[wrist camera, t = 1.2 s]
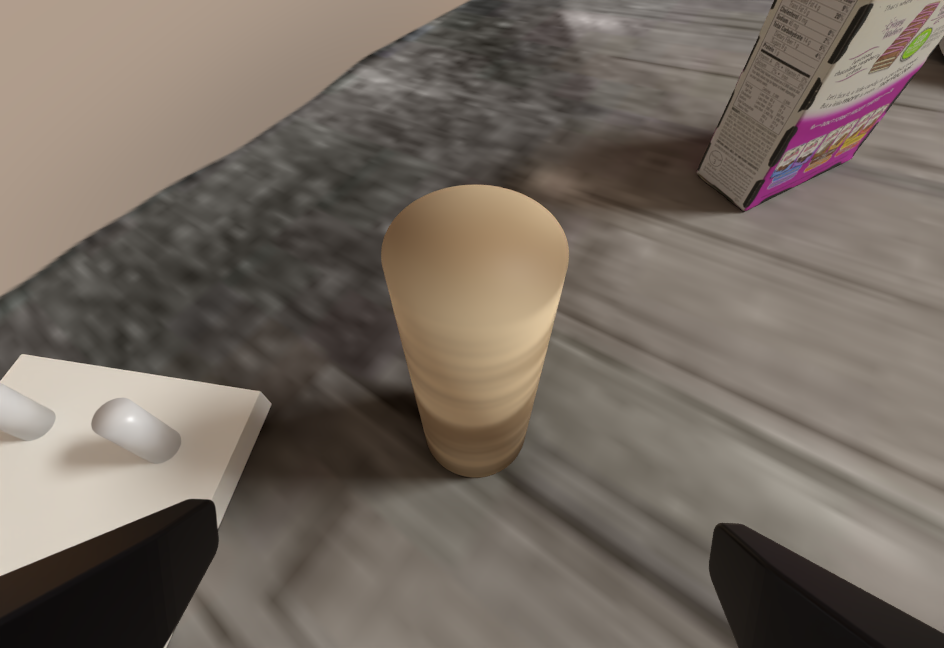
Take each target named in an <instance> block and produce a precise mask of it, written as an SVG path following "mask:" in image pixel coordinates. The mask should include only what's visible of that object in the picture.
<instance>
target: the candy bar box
mask: <svg viewBox="0 0 944 648" xmlns="http://www.w3.org/2000/svg"><path fill="white" fill-rule="evenodd" d="M943 37H944V0H774V2H773V4H772V7H771V9H770V11H769V14H768V16H767V18H766V20H765V22H764V25H763V27H762V29H761V31H760V34H759V36H758V39H757V41H756V43H755V45H754V48H753V50H752V52H751V54H750V56H749V58H748V61H747V63H746V65H745V67H744V69H743V71H742V73H741V75H740V77H739V80H738V82H737V84H736V87H735V89H734V91H733V93H732V96H731V98H730V100H729V102H728V104H727V106H726V108H725V111H724V113H723V115H722V117H721V119H720V121H719V124H718V126H717V128H716V130H715V132H714V135H713V137H712V139H711V141H710V144H709V146H708V148H707V150H706V152H705V154H704V157H703V159H702V161H701V163H700V165H699V168H698V170H697V174H698V175H699V176H700V177H701V178H702V179H703V180H704V181H705V182H706V183H707V184H709V185H710V186H712V187H713V188H715V189H716V190H717V191H718V192H720V193H721V194H723V195H724V196H725V197H726V198H728V199H729V200H730V201H731V202H732V203H734V204H735V205H736V206H738V207H739V208H740V209H741V210H743V211H746V210H749V209H751V208H753V207H755V206H757V205H759V204H761V203H763V202H765V201H767V200H769V199H771V198H773V197H775V196H777V195H779V194H781V193H783V192H785V191H787V190H789V189H791V188H793V187H795V186H797V185H799V184H801V183H803V182H805V181H807V180H809V179H811V178H813V177H815V176H817V175H819V174H821V173H823V172H825V171H828V170H830V169H832V168H834V167H836V166H838V165H840V164H842V163H844V162H846V161H848V160H850V159H852V157H853V156H854V154H855V153H856V151H857V150H858V149H859V147H860V146H861V145H862V143H863V142H864V141H865V140H866V138H867V137H868V136H869V134H870V133H871V132H872V130H873V129H874V128H875V126H876V125H877V124H878V122H879V121H880V120H881V119H882V118H883V116H884V115H885V114H886V112H887V111H888V110H889V108H890V107H891V106H892V104H893V103H894V102H895V100H896V99H897V98H898V96H899V95H900V94H901V92H902V91H903V90H904V89H905V87H906V86H907V84H908V83H909V82H910V81H911V79H912V78H913V77H914V75H915V74H916V73H917V71H918V70H919V69H920V68H921V67H922V65H923V64H924V63H925V61H926V60H927V59H928V57H929V56H930V55H931V53H932V52H933V51H934V49H935V48H936V47H937V45H938V44H939V43H940V41H941V40H942V38H943Z"/></svg>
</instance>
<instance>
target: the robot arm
mask: <svg viewBox="0 0 944 648" xmlns="http://www.w3.org/2000/svg"><path fill="white" fill-rule="evenodd" d="M218 542H219V537H218V526H217V515H216V507H215V504H214V502H213V501H211V500H209V499H187V500H184V501H182V502H180V503H177V504H175V505H172V506H170V507H167V508H165V509H162V510H160V511H158V512H155V513H153V514H150V515H148V516H145V517H143V518H140V519H138V520H136V521H133V522H131V523H128V524H126V525H123V526H121V527H118V528H116V529H114V530H111V531H109V532H106V533H104V534H101V535H99V536H97V537H94V538H92V539H89V540H87V541H84V542H82V543H79V544H77V545H75V546H72V547H70V548H67V549H65V550H62V551H60V552H57V553H55V554H53V555H50V556H48V557H45V558H43V559H40V560H38V561H35V562H33V563H31V564H28V565H26V566H23V567H21V568H18V569H16V570H13V571H11V572H9V573H6V574H4V575H1V576H0V648H164V646H165V645H166V643H167V641H168V640H169V638H170V637H171V635H172V633H173V631H174V630H175V628H176V626H177V624H178V623H179V621H180V619H181V617H182V615H183V613H184V611H185V610H186V608H187V606H188V604H189V602H190V600H191V599H192V597H193V595H194V593H195V591H196V589H197V587H198V586H199V584H200V582H201V580H202V578H203V576H204V575H205V573H206V571H207V569H208V567H209V565H210V563H211V562H212V560H213V558H214V556H215V554H216V551H217V548H218ZM709 572H710V577H711V580H712V583H713V585H714V588H715V590H716V593H717V595H718V598H719V600H720V603H721V605H722V608H723V610H724V613H725V615H726V618H727V620H728V623H729V625H730V628H731V631H732V633H733V636H734V638H735V641H736V643H737V646H738V648H944V633H942V632H940V631H938V630H936V629H934V628H932V627H931V626H929V625H927V624H925V623H923V622H921V621H920V620H918V619H916V618H914V617H912V616H910V615H909V614H907V613H905V612H903V611H901V610H899V609H898V608H896V607H894V606H892V605H890V604H888V603H886V602H885V601H883V600H881V599H879V598H877V597H875V596H874V595H872V594H870V593H868V592H866V591H864V590H863V589H861V588H859V587H857V586H855V585H853V584H852V583H850V582H848V581H846V580H844V579H842V578H840V577H839V576H837V575H835V574H833V573H831V572H829V571H828V570H826V569H824V568H822V567H820V566H818V565H817V564H815V563H813V562H811V561H809V560H807V559H806V558H804V557H802V556H800V555H798V554H796V553H794V552H793V551H791V550H789V549H787V548H785V547H783V546H782V545H780V544H778V543H776V542H774V541H772V540H771V539H769V538H767V537H765V536H763V535H761V534H760V533H758V532H756V531H754V530H752V529H750V528H748V527H747V526H745V525H743V524H736V523H719V524H717V525H716V527H715V529H714V532H713V539H712V546H711V553H710V560H709Z"/></svg>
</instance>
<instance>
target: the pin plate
mask: <svg viewBox="0 0 944 648" xmlns="http://www.w3.org/2000/svg"><path fill="white" fill-rule="evenodd" d="M271 405H272V404H271V403H270V402H269V400H268V399H267V398H266V397H265V396H264V395H263V394H262V392H261V391H254V390H248V389H242V388H235V387H229V386H222V385H216V384H210V383H203V382H197V381H191V380H184V379H178V378H171V377H165V376H159V375H152V374H146V373H139V372H133V371H127V370H120V369H114V368H108V367H101V366H95V365H88V364H82V363H76V362H69V361H63V360H56V359H50V358H44V357H37V356H31V355H25V354H22V355H21V356H20V357H19V358H18V360H17V361H16V362H15V363H14V365H13V366H12V367H11V368H10V370H9V371H8V372H7V373H6V375H5V376H4V377H3V378H2V380H1V381H0V576H1V575H4V574H6V573H9V572H11V571H13V570H16V569H18V568H21V567H23V566H26V565H28V564H31V563H33V562H35V561H38V560H40V559H43V558H45V557H48V556H50V555H53V554H55V553H57V552H60V551H62V550H65V549H67V548H70V547H72V546H75V545H77V544H79V543H82V542H84V541H87V540H89V539H92V538H94V537H97V536H99V535H101V534H104V533H106V532H109V531H111V530H114V529H116V528H118V527H121V526H123V525H126V524H128V523H131V522H133V521H136V520H138V519H140V518H143V517H145V516H148V515H150V514H153V513H155V512H158V511H160V510H162V509H165V508H167V507H170V506H172V505H175V504H177V503H180V502H182V501H184V500H187V499H209V500H211V501H213V502H214V504H215V507H216V515H217V526H218V527H219V525H220V523H221V520H222V518H223V516H224V514H225V511H226V509H227V507H228V504H229V502H230V500H231V497H232V495H233V493H234V490H235V488H236V486H237V483H238V481H239V479H240V476H241V474H242V472H243V470H244V467H245V465H246V463H247V460H248V458H249V456H250V453H251V451H252V449H253V446H254V444H255V442H256V439H257V437H258V435H259V433H260V430H261V428H262V426H263V423H264V421H265V419H266V416H267V414H268V412H269V409H270V407H271ZM172 634H173V633H172ZM171 636H172V635H171ZM170 638H171V637H170ZM170 638H169V640H168V641H167V643H166V645H165V646H164V648H167V645H168V643H169V641H170Z"/></svg>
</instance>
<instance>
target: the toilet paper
mask: <svg viewBox="0 0 944 648" xmlns="http://www.w3.org/2000/svg"><path fill="white" fill-rule="evenodd" d="M939 46H940V49H941V51H942V53H943V55H944V37H943V38H942V40H941V41H940V43H939Z"/></svg>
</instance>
